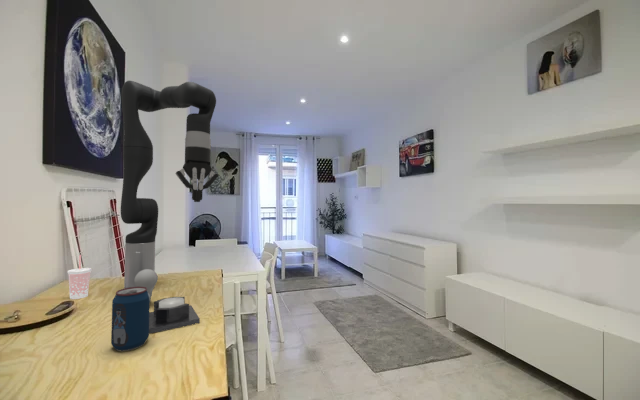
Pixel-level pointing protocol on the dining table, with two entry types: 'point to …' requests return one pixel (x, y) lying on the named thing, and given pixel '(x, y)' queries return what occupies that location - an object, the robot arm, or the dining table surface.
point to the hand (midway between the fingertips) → (196, 201)
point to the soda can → (130, 318)
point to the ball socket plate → (171, 317)
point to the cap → (171, 302)
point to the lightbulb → (146, 280)
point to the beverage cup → (79, 281)
